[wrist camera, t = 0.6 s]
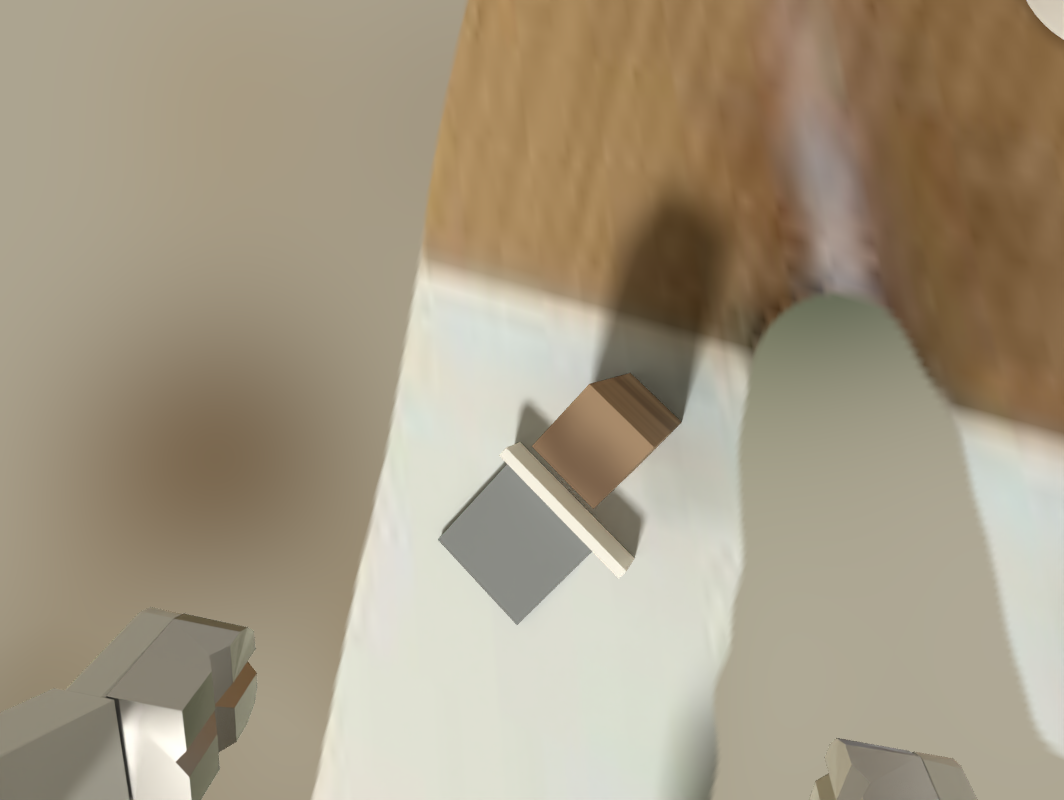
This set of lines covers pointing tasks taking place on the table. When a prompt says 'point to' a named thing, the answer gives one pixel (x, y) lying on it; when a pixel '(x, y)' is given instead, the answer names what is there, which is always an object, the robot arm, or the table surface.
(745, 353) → the table surface
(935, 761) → the robot arm
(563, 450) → the walnut block
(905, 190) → the table surface
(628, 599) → the table surface
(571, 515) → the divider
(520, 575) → the coaster
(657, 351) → the table surface
